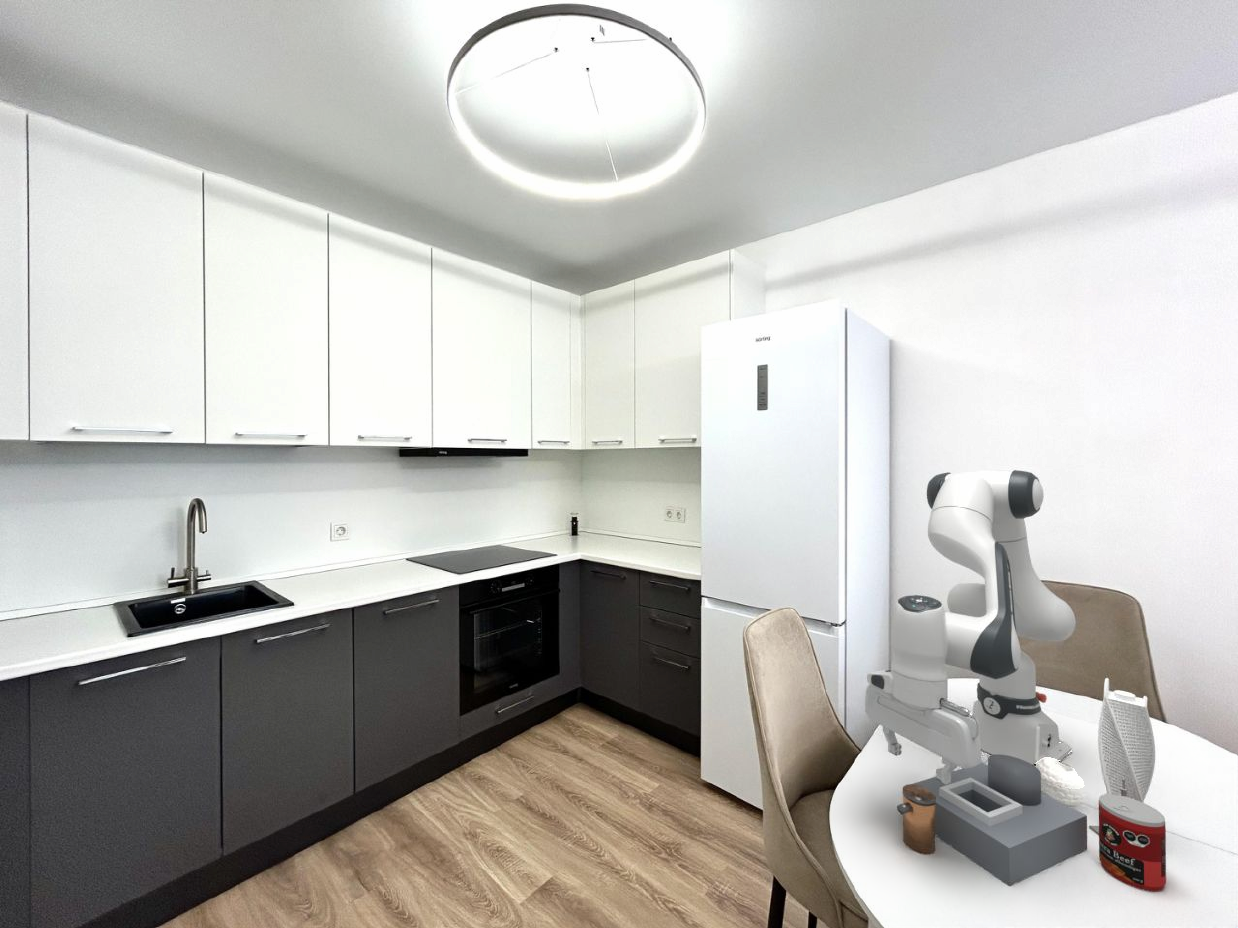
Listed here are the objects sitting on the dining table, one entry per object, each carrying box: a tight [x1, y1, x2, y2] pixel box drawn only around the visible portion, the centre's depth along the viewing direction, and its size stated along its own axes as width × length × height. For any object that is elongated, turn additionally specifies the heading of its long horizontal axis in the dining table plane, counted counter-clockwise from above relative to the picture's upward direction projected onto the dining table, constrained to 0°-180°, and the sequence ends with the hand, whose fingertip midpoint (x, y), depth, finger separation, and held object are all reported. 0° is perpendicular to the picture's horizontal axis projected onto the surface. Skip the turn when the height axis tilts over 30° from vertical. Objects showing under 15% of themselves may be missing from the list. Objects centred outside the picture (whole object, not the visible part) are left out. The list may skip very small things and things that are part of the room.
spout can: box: [896, 784, 936, 856], centre depth 91 cm, size 7×5×9 cm
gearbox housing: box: [909, 754, 1088, 887], centre depth 95 cm, size 22×18×11 cm
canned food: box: [1098, 793, 1167, 892], centre depth 85 cm, size 8×8×11 cm
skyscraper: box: [1088, 677, 1156, 836], centre depth 94 cm, size 8×8×28 cm
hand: (917, 766), depth 91 cm, fingers open, 8 cm apart
